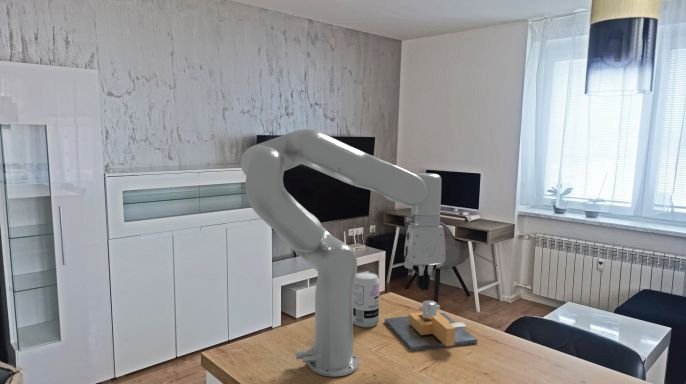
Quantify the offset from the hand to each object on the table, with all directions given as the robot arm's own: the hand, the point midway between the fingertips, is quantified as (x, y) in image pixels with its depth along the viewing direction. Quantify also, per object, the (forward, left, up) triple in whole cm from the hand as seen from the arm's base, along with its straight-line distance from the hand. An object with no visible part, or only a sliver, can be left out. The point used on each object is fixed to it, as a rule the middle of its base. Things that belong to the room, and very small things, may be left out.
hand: (422, 288), depth 123 cm
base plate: (+7, +9, -17) cm, 21 cm away
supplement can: (-9, +20, -17) cm, 28 cm away
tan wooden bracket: (+7, +5, -16) cm, 18 cm away
